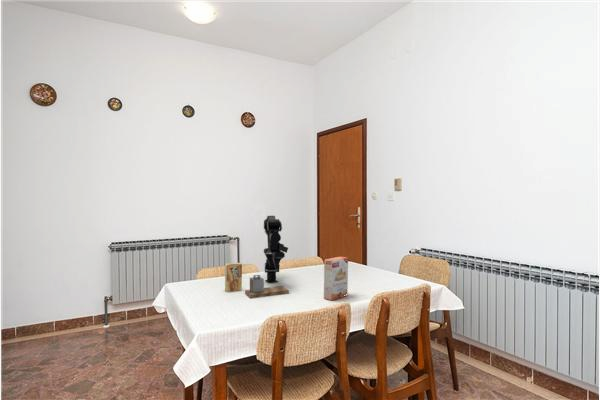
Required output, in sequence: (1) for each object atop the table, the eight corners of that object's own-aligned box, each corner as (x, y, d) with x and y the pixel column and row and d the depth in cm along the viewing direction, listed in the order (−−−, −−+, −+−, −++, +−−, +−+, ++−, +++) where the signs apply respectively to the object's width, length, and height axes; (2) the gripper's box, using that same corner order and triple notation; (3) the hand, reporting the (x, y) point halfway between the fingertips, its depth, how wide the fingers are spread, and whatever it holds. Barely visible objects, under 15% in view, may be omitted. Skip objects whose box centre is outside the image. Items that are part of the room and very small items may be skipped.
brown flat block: (250, 298, 188) (250, 289, 187) (244, 293, 197) (244, 284, 196) (288, 293, 197) (288, 284, 197) (281, 289, 206) (281, 280, 206)
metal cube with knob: (249, 290, 196) (249, 275, 196) (260, 289, 198) (260, 274, 198) (253, 293, 190) (253, 277, 190) (263, 291, 193) (263, 276, 193)
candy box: (239, 288, 207) (240, 262, 206) (242, 290, 203) (242, 263, 203) (224, 290, 203) (224, 263, 203) (226, 292, 199) (226, 264, 199)
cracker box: (332, 301, 183) (332, 260, 183) (323, 298, 187) (323, 259, 187) (348, 295, 194) (348, 257, 193) (339, 293, 198) (339, 255, 197)
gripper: (293, 241, 204) (293, 269, 204) (280, 238, 221) (280, 263, 221) (274, 243, 199) (274, 270, 199) (263, 239, 216) (263, 264, 216)
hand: (273, 267), depth 209 cm, fingers open, 9 cm apart
